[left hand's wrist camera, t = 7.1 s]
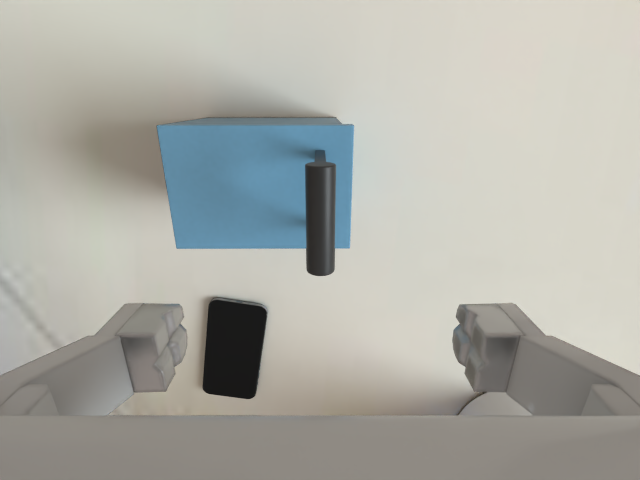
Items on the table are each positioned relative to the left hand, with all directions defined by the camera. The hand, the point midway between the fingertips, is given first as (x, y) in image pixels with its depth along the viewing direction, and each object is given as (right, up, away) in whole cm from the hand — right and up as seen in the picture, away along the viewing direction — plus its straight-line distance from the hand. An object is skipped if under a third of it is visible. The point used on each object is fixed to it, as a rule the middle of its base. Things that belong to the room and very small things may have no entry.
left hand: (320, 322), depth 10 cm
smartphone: (-11, -12, +36) cm, 39 cm away
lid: (-4, +7, +17) cm, 18 cm away
